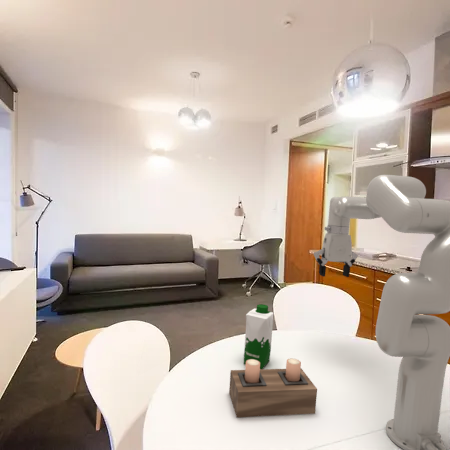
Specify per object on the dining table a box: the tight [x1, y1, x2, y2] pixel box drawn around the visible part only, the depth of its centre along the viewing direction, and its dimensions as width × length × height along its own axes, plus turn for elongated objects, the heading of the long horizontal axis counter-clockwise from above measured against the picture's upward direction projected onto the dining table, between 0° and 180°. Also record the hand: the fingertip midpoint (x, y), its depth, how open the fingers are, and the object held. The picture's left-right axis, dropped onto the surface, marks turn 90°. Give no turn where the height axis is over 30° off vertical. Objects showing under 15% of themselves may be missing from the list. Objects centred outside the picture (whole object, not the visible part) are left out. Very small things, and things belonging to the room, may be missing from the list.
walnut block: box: [228, 368, 318, 418], centre depth 94 cm, size 11×22×7 cm, turn 100°
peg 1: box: [244, 359, 260, 383], centre depth 92 cm, size 4×4×7 cm
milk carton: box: [243, 303, 275, 369], centre depth 116 cm, size 9×9×20 cm
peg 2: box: [285, 357, 302, 382], centre depth 94 cm, size 4×4×7 cm
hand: (334, 275), depth 124 cm, fingers open, 9 cm apart
